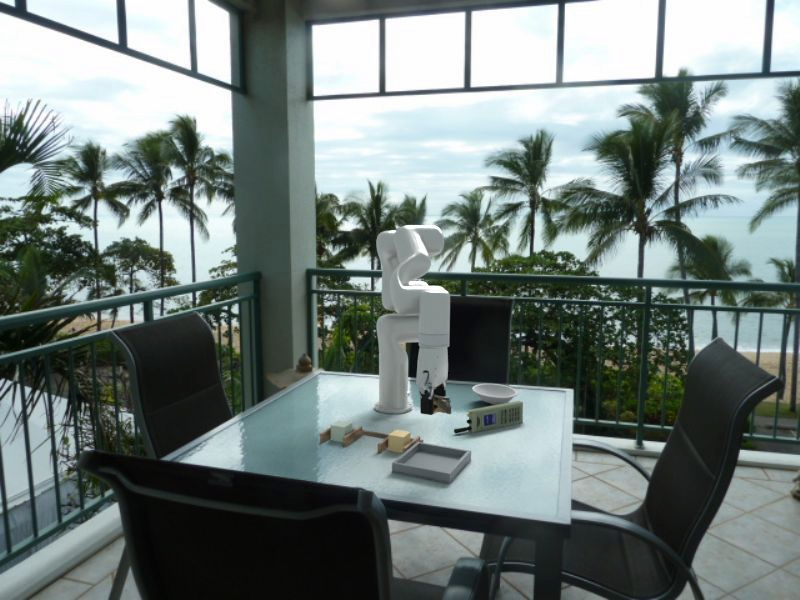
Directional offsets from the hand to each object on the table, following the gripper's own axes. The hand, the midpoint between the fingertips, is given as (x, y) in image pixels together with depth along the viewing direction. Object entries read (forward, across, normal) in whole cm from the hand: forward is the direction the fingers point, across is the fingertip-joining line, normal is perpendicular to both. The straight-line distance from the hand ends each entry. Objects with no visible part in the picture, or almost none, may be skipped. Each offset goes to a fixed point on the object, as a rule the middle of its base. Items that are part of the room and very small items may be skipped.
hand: (433, 408), depth 147 cm
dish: (+15, -58, 0) cm, 60 cm away
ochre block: (+15, -7, -12) cm, 21 cm away
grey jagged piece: (+1, 0, 0) cm, 1 cm away
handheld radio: (+15, -34, +4) cm, 38 cm away
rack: (+15, -7, -22) cm, 27 cm away
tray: (+15, 0, 0) cm, 15 cm away
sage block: (+15, -7, -31) cm, 35 cm away
